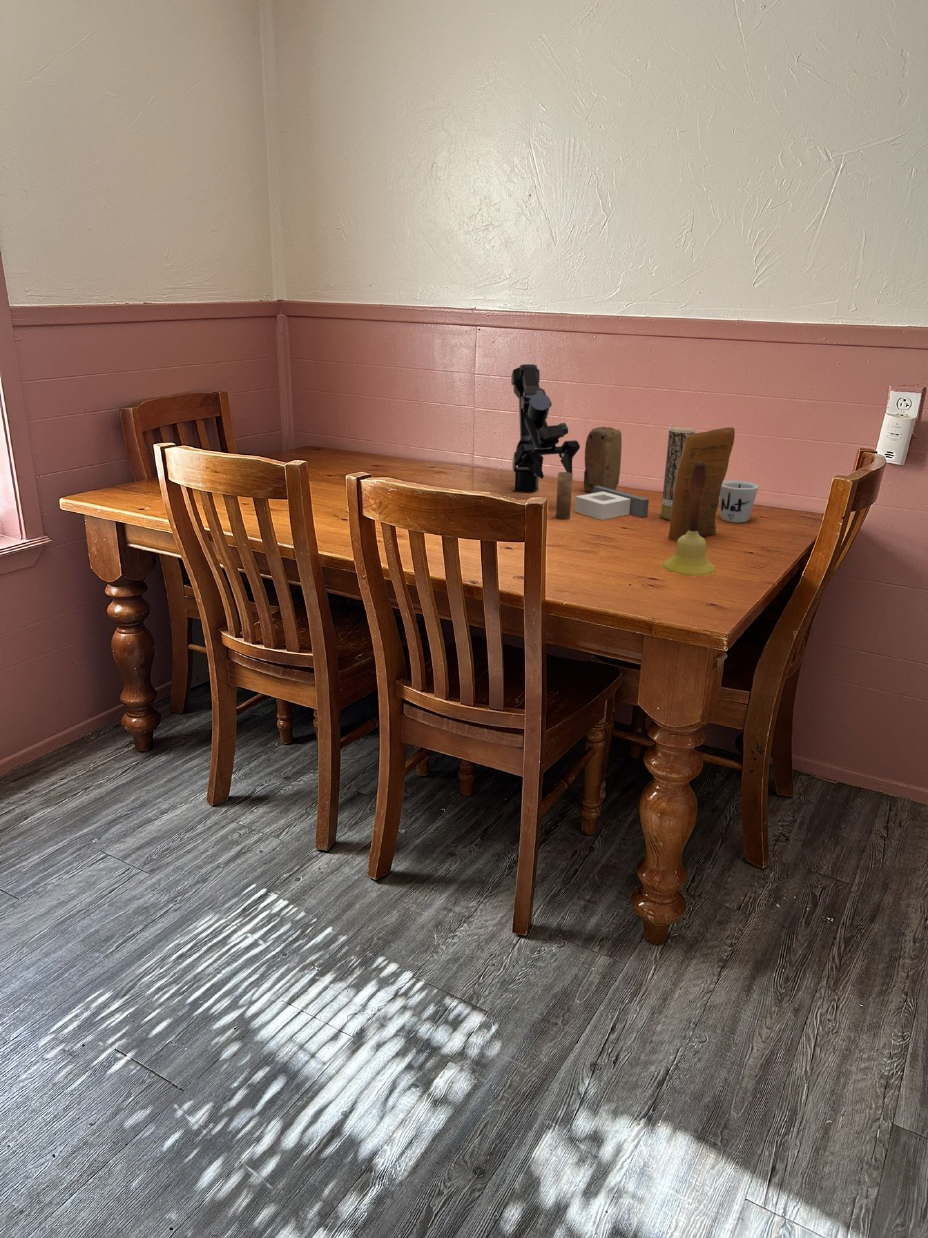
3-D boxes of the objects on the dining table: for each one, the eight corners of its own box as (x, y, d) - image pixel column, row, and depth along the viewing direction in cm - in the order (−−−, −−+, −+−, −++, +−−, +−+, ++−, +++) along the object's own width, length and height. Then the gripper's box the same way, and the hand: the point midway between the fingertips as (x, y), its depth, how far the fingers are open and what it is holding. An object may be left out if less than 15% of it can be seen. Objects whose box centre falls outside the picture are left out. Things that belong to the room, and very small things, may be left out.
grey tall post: (685, 521, 244) (695, 431, 235) (660, 520, 245) (669, 430, 236) (684, 515, 250) (694, 427, 241) (660, 514, 252) (669, 426, 242)
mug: (711, 521, 246) (715, 485, 242) (723, 509, 258) (727, 475, 254) (749, 526, 241) (754, 490, 237) (760, 514, 253) (764, 479, 250)
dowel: (553, 518, 246) (556, 474, 241) (558, 515, 249) (560, 471, 245) (567, 520, 244) (569, 475, 240) (571, 516, 248) (574, 472, 243)
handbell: (667, 576, 201) (678, 467, 192) (657, 559, 212) (668, 456, 203) (721, 577, 201) (735, 468, 191) (709, 560, 212) (721, 457, 203)
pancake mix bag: (730, 534, 233) (744, 428, 223) (675, 543, 225) (686, 433, 214) (713, 528, 239) (725, 424, 228) (658, 536, 230) (668, 429, 220)
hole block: (574, 511, 253) (575, 496, 251) (601, 506, 259) (602, 491, 257) (602, 520, 245) (603, 504, 243) (629, 514, 251) (630, 498, 249)
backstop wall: (592, 502, 263) (593, 486, 261) (597, 501, 264) (598, 485, 262) (642, 517, 248) (644, 500, 246) (647, 516, 249) (648, 499, 247)
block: (620, 494, 273) (625, 429, 266) (603, 497, 269) (608, 431, 261) (595, 487, 281) (600, 424, 274) (578, 490, 277) (582, 426, 269)
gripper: (520, 414, 241) (538, 462, 236) (578, 411, 248) (597, 457, 243) (506, 439, 250) (523, 485, 245) (562, 435, 258) (580, 479, 253)
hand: (556, 476), depth 246 cm, fingers open, 9 cm apart
